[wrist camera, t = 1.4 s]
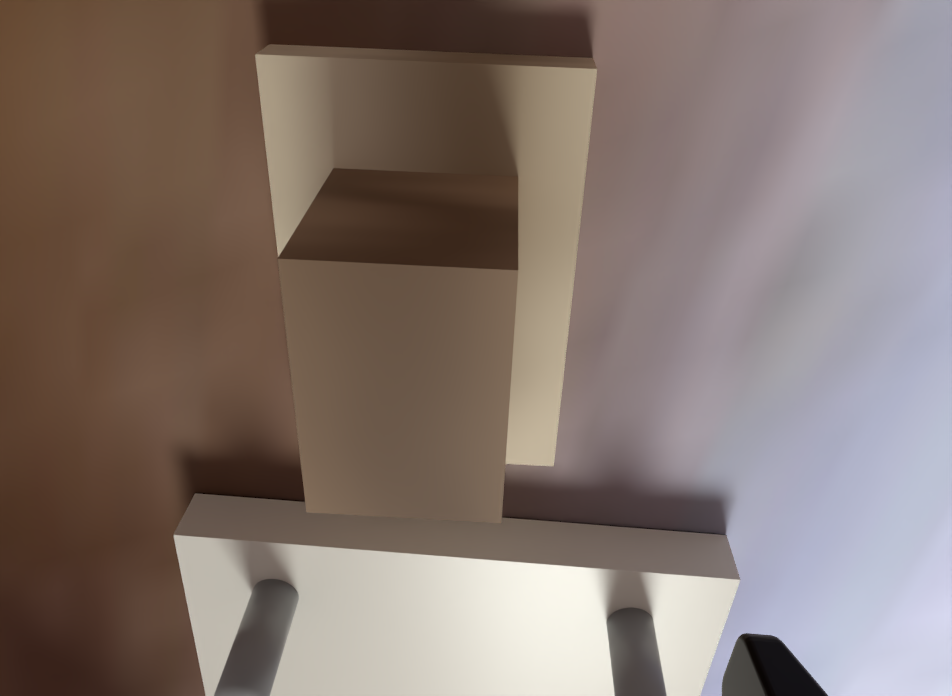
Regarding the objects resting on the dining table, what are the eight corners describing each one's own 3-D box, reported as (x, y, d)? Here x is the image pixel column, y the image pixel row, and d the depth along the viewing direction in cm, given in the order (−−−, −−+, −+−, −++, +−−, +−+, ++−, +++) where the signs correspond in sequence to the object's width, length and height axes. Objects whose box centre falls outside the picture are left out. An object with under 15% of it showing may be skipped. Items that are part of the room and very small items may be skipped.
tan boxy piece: (311, 421, 19) (250, 584, 15) (273, 41, 15) (168, 116, 10) (551, 434, 19) (561, 603, 15) (591, 54, 15) (623, 136, 10)
